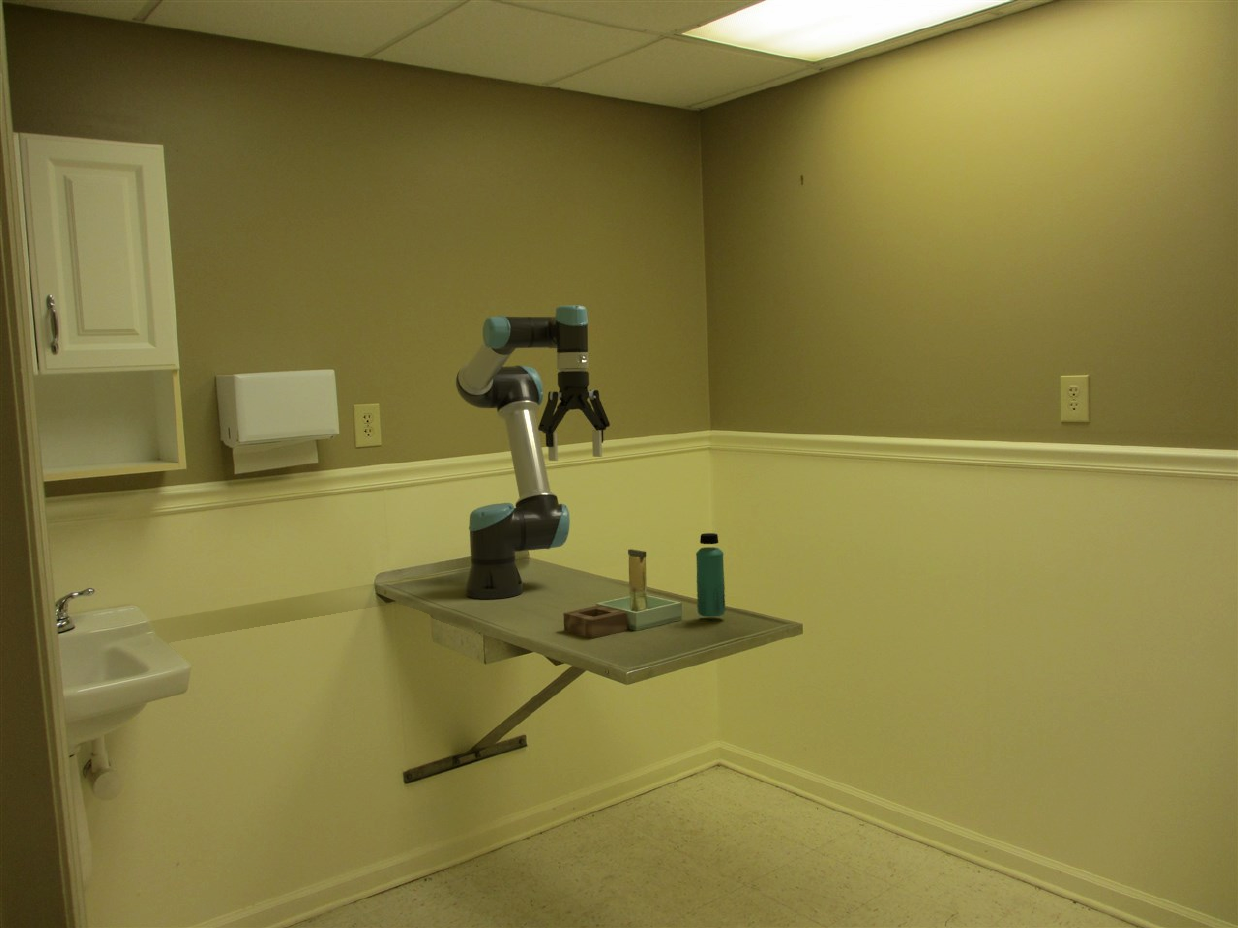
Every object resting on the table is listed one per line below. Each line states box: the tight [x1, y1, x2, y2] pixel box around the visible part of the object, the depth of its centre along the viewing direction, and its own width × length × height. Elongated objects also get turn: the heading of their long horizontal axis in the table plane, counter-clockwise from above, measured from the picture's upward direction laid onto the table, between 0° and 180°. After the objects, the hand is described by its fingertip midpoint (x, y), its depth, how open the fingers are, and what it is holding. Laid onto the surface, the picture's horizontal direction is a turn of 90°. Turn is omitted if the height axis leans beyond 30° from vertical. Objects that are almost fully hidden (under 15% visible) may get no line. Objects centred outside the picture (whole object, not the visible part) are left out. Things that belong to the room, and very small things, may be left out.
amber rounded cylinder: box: [627, 548, 648, 612], centre depth 230 cm, size 5×4×15 cm
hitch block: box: [563, 605, 628, 639], centre depth 222 cm, size 10×10×4 cm
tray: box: [595, 594, 683, 632], centre depth 230 cm, size 14×14×4 cm
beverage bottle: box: [695, 532, 727, 618], centre depth 228 cm, size 6×7×20 cm
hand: (575, 458), depth 241 cm, fingers open, 13 cm apart
